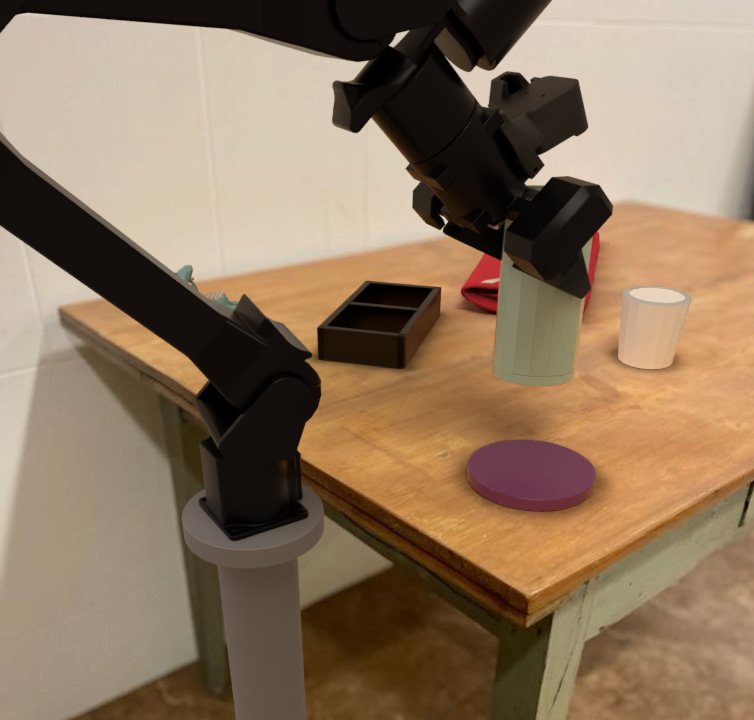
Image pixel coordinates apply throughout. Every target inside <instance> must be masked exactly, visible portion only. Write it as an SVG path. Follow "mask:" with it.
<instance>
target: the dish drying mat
mask: <svg viewBox="0 0 754 720" xmlns="http://www.w3.org/2000/svg"><path fill="white" fill-rule="evenodd" d="M600 241H601V240H600V232H599V231H597V232H596V233H595V234H594V236H593V239H592V247H591V255H590V262H589V270H588V276H589V280H590V284H591V290H590V291H589V292H588V294H587V295H586V296H585V301H584V309H583V315H584V314H585V313H586V307H587V305H588V303H589V301H590V299H591V295H592V288H593V283H594V279H595V272H596V266H597V261H598V258H599V252H600V246H601V245H600ZM500 267H501V261H500V260H498V259H496V258H494V257H492V256H489V255H487V254H485V253H483V255H482V256H481V258H480V260H479V261H478V263H477V264H476V266H475V267H474V269H473V270H472V272H471V273H470V275H469V276H468V278H467V279H466V281H465V283H464V284H463V286H462V287H461V288H460V295H461V297H463V299H464V300H466V301H467V302H468V303H471V304H472V305H474V306H476V307H478V308H481V309H484V310H487V311H492V312H496V313H497V304H498V292H499V280H500Z"/></svg>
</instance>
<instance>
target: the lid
mask: <svg viewBox="0 0 754 720" xmlns="http://www.w3.org/2000/svg"><path fill="white" fill-rule="evenodd" d="M596 476H597V473H596V469H595V467H594V466H593V464H592V463H591V461H590V460H589V459H588V458H586V457H585V456H584V455H583V454H581V453H579V452H578V451H575V450H574V449H571V448H569V447H567V446H564V445H562V444H557V443H555V442H550V441H545V440H538V439H528V438H527V439H526V438H523V439H521V438H520V439H519V438H518V439H517V438H515V439H504V440H498V441H495V442H490V443H487V444H485V445H483V446H481V447H479V448H477V449H476V450H474V452H472V453H471V455H470V456H469V458H468V461H467V469H466V477H467V482H468V484H469V485H470V487H471V488H472V489H473V490H474V491H475V492H476V493H477V494H478V495H480V496H482V497H483V498H485V499H487V500H489V501H491V502H493V503H495V504H498V505H500V506H503V507H507V508H512V509H515V510H521V511H528V512H529V511H531V512H553V511H558V510H559V511H560V510H564V509H569V508H573V507H575V506H577V505H580V504H581V503H583V502H585V501H587V499H589V498H590V496H591V495H592V493H593V492H594V490H595V489H594V488H595V484H596V478H597V477H596Z"/></svg>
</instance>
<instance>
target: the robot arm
mask: <svg viewBox="0 0 754 720" xmlns="http://www.w3.org/2000/svg"><path fill="white" fill-rule="evenodd" d="M552 1H553V0H0V34H2V32H3V31H4V30H5V29H6V27H7V26H8V25H9V24H10V23H11V21H12V20H13V19H14V18H15V16H18V15H24V14H34V15H48V16H59V17H60V16H61V17H72V18H83V19H85V18H86V19H97V20H111V21H120V22H121V21H122V22H132V23H133V22H135V23H147V24H159V25H172V26H182V27H183V26H184V27H196V28H197V27H198V28H206V29H207V28H209V29H220V30H221V29H223V30H229V31H231V32H235V33H239V34H243V35H246V36H249V37H252V38H255V39H258V40H262V41H264V42H268V43H271V44H274V45H278V46H282V47H286V48H288V49H292V50H295V51H298V52H302V53H306V54H309V55H313V56H317V57H322V58H329V59H334V60H342V61H347V62H354V63H362V62H363V63H364V62H366V64H365V65H364V66H363V67H362V68H361V70H360V71H359V72H358V73H357V75H356V76H355V77H354V78H353V79H351V80H348V81H347V80H346V81H345V80H344V81H343V80H338V79H337V80H334V81H333V82H332V85H331V87H332V90H333V107H332V115H331V123H332V125H333V126H334V127H336V128H339V129H342V130H344V131H346V132H350V133H353V134H358V133H360V132H361V131H362V129H364V128H365V126H366V125H367V124H368V122H369V121H370V120H371V119H372V121H373V122H374V123H375V125H376V126H377V127H378V128H379V129H380V131H382V132H383V134H384V135H385V136H386V137H387V139H388V140H389V141H390V142H391V143H392V145H393V146H394V147H395V148H396V149H397V150H398V152H399V153H400V155H402V156H403V158H404V159H405V160H406V161H407V162H408V165H407V166H406V167H405V168H404V169H405V170H406V171H407V173H408V174H409V176H411V178H412V179H413V180H415V181H417V182H419V183H418V184H417V185H416V186H415V187H414V189H413V190H412V200H411V201H412V202H411V208H412V209H413V211H414V212H415V213H416V214H417V215H418V216H419V218H420V219H421V220H422V221H423V222H424V223H425V225H428V226H430V227H432V228H433V229H436V230H437V231H441V230H442V234H443V235H445V236H447V237H449V238H452V239H453V240H456V241H458V242H459V243H462V244H463V245H466V246H468V247H470V248H472V249H475V250H477V251H479V252H481V253H483V254H487V255H489V256H492V257H494V258H496V259H498V260H500V261H501V255H502V243H503V231H504V222H505V221H506V219H508V220H511V221H513V222H512V223H511V224H510V226H509V227H508V228H507V229H506V230H505V241H504V252H505V253H506V254H507V255H508V256H509V258H510V259H511V260H512V261H513V262H514V263H513V265H512V267H513V268H515V269H517V270H519V271H521V272H523V273H525V274H527V275H529V276H531V277H533V278H536V279H538V280H540V281H542V282H544V283H546V284H549V285H551V286H553V287H555V288H558V289H560V290H562V291H564V292H566V293H568V294H570V295H573V296H575V297H577V298H579V299H583V298H584V297H585V296H586V295H587V294H588V292H589V291H590V290H591V291H592V289H591V284H590V280H589V276H588V272H587V268H586V264H585V260H584V256H583V252H582V248H583V247H584V246H585V245H586V243H587V242H588V241H589V240H590V239H591V238H592V237H593V236H594V234H595V233H596V232H599V230H600V229H601V228H602V227H603V226H604V225H605V223H606V222H607V221H608V220H609V219H610V218H611V216H613V211H614V205H613V202H611V200H610V199H609V197H608V195H607V194H606V192H605V191H604V190H603V188H602V187H601V185H600V184H598V183H594V182H591V181H587V180H584V179H580V178H577V177H574V176H571V175H563V176H562V175H561V176H551V177H550V179H549V180H548V181H547V182H546V183H545V184H543V185H544V187H543V188H542V189H541V190H537V189H534V188H531V187H528V186H526V185H527V184H526V182H527V181H528V180H533V179H534V178H536V176H537V175H538V174H539V173H540V172H541V170H543V168H544V167H545V163H544V162H543V161H542V159H541V158H540V156H541V155H543V154H545V153H547V152H549V151H550V150H552V149H553V148H556V147H557V146H558V145H560V144H562V143H564V142H566V141H567V140H568V139H571V138H572V137H574V136H575V137H579V136H581V135H583V134H584V133H586V132H587V130H588V129H589V122H588V118H587V114H586V108H585V104H584V98H583V95H582V90H581V89H582V88H581V85H580V81H579V79H578V78H573V77H565V76H557V75H545V76H541V77H538V76H533V77H532V78H530V79H529V81H530V82H529V81H528V80H527V78H526V77H525V76H524V75H523V74H522V73H520V72H518V71H509V70H506V71H503V72H502V73H501V74H499V75H497V76H496V77H494V78H491V80H490V87H489V97H488V104H487V107H486V106H482V105H481V103H480V102H479V100H477V98H476V97H475V95H474V94H473V93H472V91H471V90H470V89H469V87H468V86H467V85H466V83H465V81H464V80H463V79H462V78H461V76H460V75H459V74H458V72H457V70H456V69H455V68H454V66H455V67H456V68H458V69H459V70H461V71H463V72H466V73H471V72H473V70H474V69H475V68H476V67H477V68H479V69H481V70H484V71H487V72H490V71H494V70H495V69H496V68H497V67H498V65H500V63H501V62H502V61H503V60H504V58H505V57H506V56H507V55H508V54H509V53H510V51H511V50H512V49H513V48H514V46H516V44H517V43H518V42H519V41H520V39H521V38H522V37H523V36H524V34H526V33H527V31H528V30H529V29H530V28H531V26H533V24H534V23H535V22H536V20H538V18H539V17H540V16H541V14H543V12H544V11H545V10H546V8H547V7H548V6H549V5H550V4H551V2H552ZM406 32H407V33H406ZM400 33H406V34H405V35H404V36H403V37H402V38H401V39H400V40H399V41H398V42H397V43H396V44H395V45H394V46H391V44H392V43H393V42H394V40H395V37H396V36H397V34H400ZM452 64H453V65H454V66H453V65H452ZM444 219H445V220H446V221H447V222H446V223H445V220H444ZM0 227H1V228H3V229H4V230H5V231H7V232H8V233H10V234H12V236H14V237H16V238H17V239H18V240H20V241H21V242H23V243H24V244H25V245H27V246H28V247H29V248H31V249H32V250H34V251H35V252H36V253H38V254H40V255H41V256H43V257H44V258H46V259H47V260H48V261H50V262H51V263H53V264H54V265H55V266H57V267H58V268H59V269H61V270H63V271H64V272H65V273H67V274H68V275H70V276H71V277H72V278H74V279H75V280H77V281H78V282H80V283H81V284H83V285H84V286H86V287H87V288H88V289H90V290H91V291H92V292H94V293H95V294H97V295H98V296H100V297H101V298H102V299H104V300H105V301H107V302H108V303H110V304H111V305H113V306H114V307H115V308H117V309H119V310H120V312H122V313H124V314H126V316H128V317H130V318H131V319H132V320H134V321H135V322H137V323H138V324H140V325H141V326H143V327H144V328H145V329H147V330H148V331H150V332H151V333H152V334H154V335H155V336H157V337H158V338H159V339H161V340H163V341H164V342H165V343H167V344H168V345H169V346H170V347H173V348H174V349H175V350H177V351H178V352H179V353H181V354H182V355H184V356H185V357H186V358H187V359H188V360H189V361H190V362H191V363H192V364H193V365H194V366H195V367H196V368H197V369H198V371H200V373H201V374H202V375H203V376H204V377H205V378H206V379H207V381H206V383H204V385H203V386H202V387H201V388H200V389H199V391H197V393H196V394H195V395H194V396H193V398H192V403H193V405H194V407H195V408H196V411H197V413H198V414H199V416H200V418H201V419H202V421H203V423H204V425H205V427H206V429H207V431H208V432H209V434H210V435H209V437H208V438H204V439H201V440H199V441H198V444H199V452H200V459H201V460H200V461H201V468H202V477H203V484H204V489H205V493H206V496H205V497H202V498H200V499H199V506H200V507H201V508H202V509H203V510H204V512H205V513H206V514H207V515H208V516H209V517H210V518H211V519H212V521H213V522H214V523H215V524H216V525H217V526H218V527H219V529H220V530H221V531H222V532H223V533H224V534H225V535H226V536H227V538H228V539H229V540H231V541H239V540H242V539H245V538H248V537H251V536H254V535H257V534H260V533H263V532H266V531H269V530H273V529H276V528H279V527H282V526H285V525H288V524H291V523H294V522H297V521H300V520H304V519H306V518H308V516H309V515H308V510H307V509H306V508H305V507H304V506H303V505H302V504H301V503H300V502H299V500H301V499H302V498H303V484H304V483H303V465H302V452H300V451H299V449H298V448H299V445H300V442H301V439H302V437H303V433H304V430H305V426H306V424H307V423H308V421H310V420H311V419H312V418H313V416H314V415H315V413H316V411H318V410H317V409H318V408H319V406H320V402H321V399H322V380H321V377H320V375H319V373H318V372H317V371H316V370H315V368H313V366H312V365H311V364H310V363H309V362H308V361H307V360H309V359H312V357H313V353H312V352H311V350H310V349H309V348H308V347H307V346H306V345H305V344H304V343H303V342H302V341H301V340H300V339H299V338H298V337H297V336H296V334H294V333H293V332H292V331H291V329H290V328H289V327H287V326H286V325H285V324H284V322H281V321H277V320H273V319H271V318H270V317H268V316H266V315H265V313H264V312H263V311H262V310H261V309H260V308H259V307H258V306H257V305H256V303H254V302H253V301H252V299H251V298H250V297H249V296H248V295H247V294H246V293H243V294H242V295H241V296H240V299H239V300H238V301H239V303H238V304H237V306H236V308H235V310H234V309H231V308H229V307H226V306H224V305H221V304H219V303H216V302H214V301H212V300H210V299H208V298H207V297H205V296H204V295H205V294H203V293H202V292H201V291H199V289H198V290H196V289H195V288H194V287H192V286H191V285H190V284H188V283H187V282H186V281H185V280H183V279H182V278H181V277H179V276H178V275H177V274H175V273H176V272H174V271H173V270H172V269H170V268H169V267H168V266H167V265H165V264H164V263H162V262H161V261H160V260H159V259H157V258H156V257H155V256H153V255H152V254H151V253H149V252H148V251H147V250H146V249H145V248H143V246H141V245H139V244H138V243H136V242H135V241H134V240H133V239H132V238H130V237H129V236H128V235H126V234H125V233H124V232H122V231H121V230H119V229H118V227H116V226H115V225H113V224H112V223H110V222H109V221H108V220H107V219H105V217H103V216H102V215H100V214H99V213H98V212H96V211H95V210H94V209H92V208H91V207H90V206H89V205H87V204H86V203H84V202H83V201H82V200H81V199H79V198H78V197H77V196H75V194H73V193H72V192H70V191H69V190H68V189H67V188H65V187H64V186H63V185H62V184H60V183H59V182H57V181H56V180H55V179H53V178H52V177H51V176H49V174H47V173H46V172H44V171H43V170H42V169H40V168H39V167H38V166H36V164H34V163H33V162H31V161H30V160H29V159H28V158H26V157H25V156H23V154H21V152H20V151H19V150H18V149H17V148H16V147H15V146H14V145H13V144H12V142H10V141H9V140H8V139H7V137H6V136H5V135H4V133H2V132H1V131H0Z"/></svg>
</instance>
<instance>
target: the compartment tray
mask: <svg viewBox="0 0 754 720" xmlns="http://www.w3.org/2000/svg"><path fill="white" fill-rule="evenodd" d="M441 302H442V286H434V285H433V286H432V285H420V284H411V283H399V282H387V281H375V280H365V281H364V282H363V283H362V284H361V285H360V286H359V287H358V288H357V289H356V290H355V291H354V292H353V293H351V294H350V295H349V296H348V297H347V298H346V299H345V300H344V301H343V302H342V303H341V304H340V305H339V306H338V307H337V308H336V309H334V311H333V312H332V313H331V314H329V316H328V317H326V319H324V320H323V322H321V323H320V324H319V325H318V326H317V327H316V334H317V335H316V336H317V337H316V338H317V360H318V361H319V360H320V361H329V362H338V363H347V364H356V365H363V366H365V365H366V366H374V367H382V368H383V367H384V368H391V369H393V368H394V369H399V370H401V369H402V370H404V369H406V367H407V365H408V364H409V362H410V361H411V359H412V357H413V356H414V355H415V353H416V352H417V351H418V349H419V347H420V346H421V345H422V344H423V341H424V340H425V338H426V337H427V336H428V334H429V333H430V331H431V330H432V329H433V327H434V325H435V324H436V322H437V321H438V319H439V318H440V316H441V305H442V304H441Z"/></svg>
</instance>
